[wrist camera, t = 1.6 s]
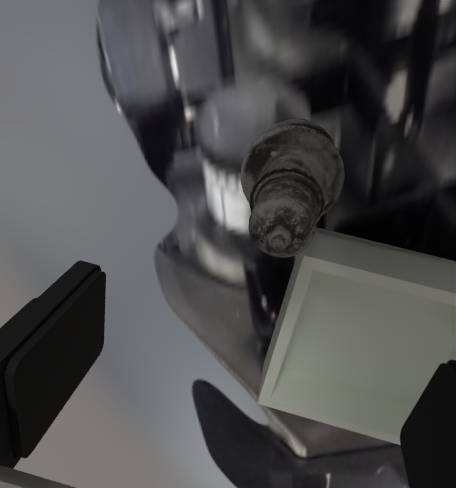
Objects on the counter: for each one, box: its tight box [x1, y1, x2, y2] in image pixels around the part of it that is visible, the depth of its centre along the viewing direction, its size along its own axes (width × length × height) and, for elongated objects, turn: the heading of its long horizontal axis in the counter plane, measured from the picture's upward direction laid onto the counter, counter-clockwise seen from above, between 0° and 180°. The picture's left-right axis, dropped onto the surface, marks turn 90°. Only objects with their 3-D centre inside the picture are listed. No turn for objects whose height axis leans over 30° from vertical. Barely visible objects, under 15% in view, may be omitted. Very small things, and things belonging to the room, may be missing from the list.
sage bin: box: [257, 227, 456, 445], centre depth 28 cm, size 14×14×4 cm
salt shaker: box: [241, 119, 345, 258], centre depth 20 cm, size 6×6×12 cm
